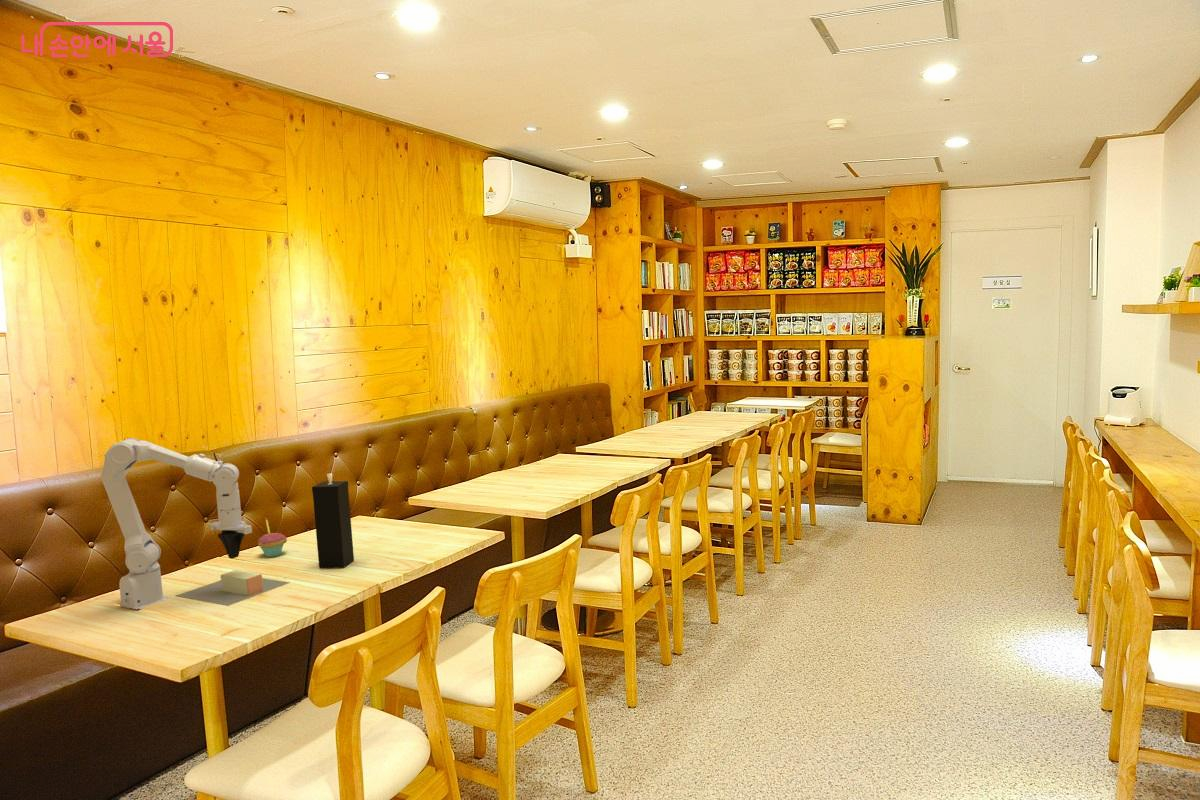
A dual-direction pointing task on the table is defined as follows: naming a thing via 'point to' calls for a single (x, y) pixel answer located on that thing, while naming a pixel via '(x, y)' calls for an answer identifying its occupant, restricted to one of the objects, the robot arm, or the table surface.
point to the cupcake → (272, 543)
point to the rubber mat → (217, 596)
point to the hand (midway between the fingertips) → (233, 557)
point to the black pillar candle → (333, 523)
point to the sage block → (241, 582)
